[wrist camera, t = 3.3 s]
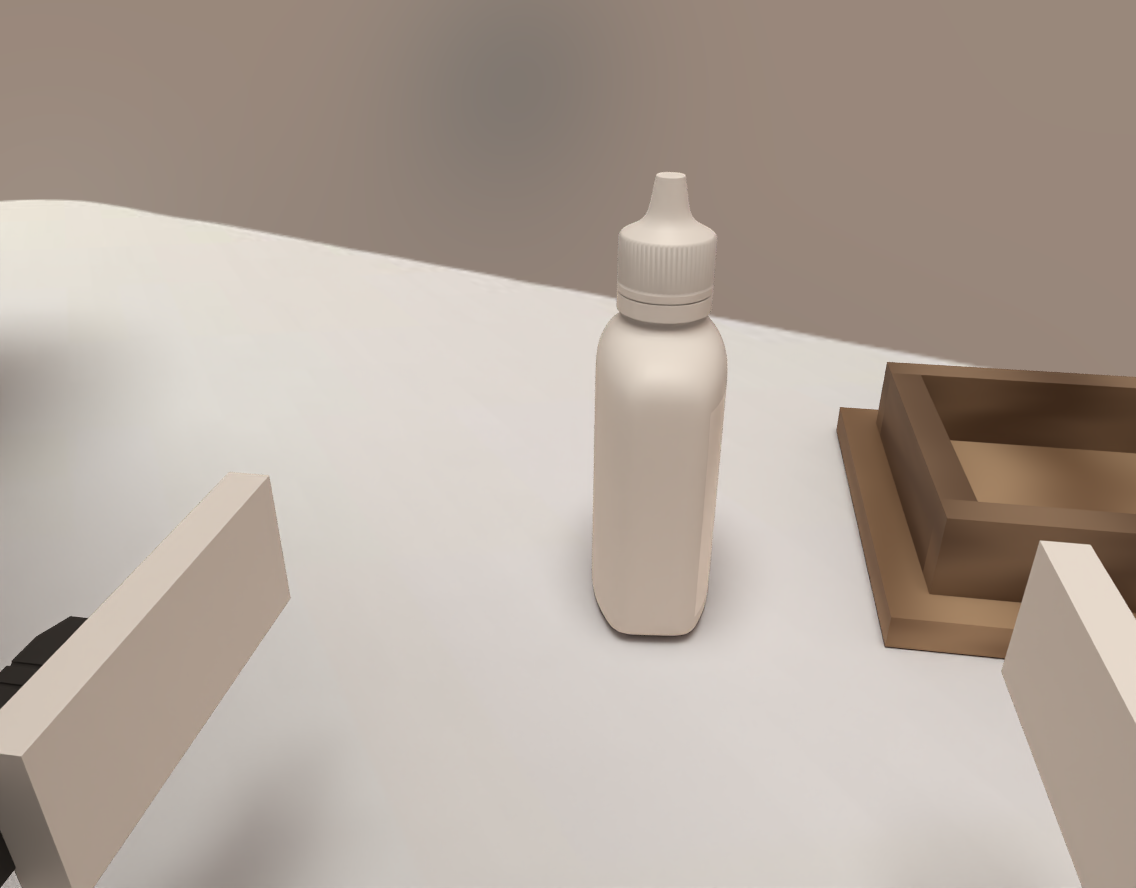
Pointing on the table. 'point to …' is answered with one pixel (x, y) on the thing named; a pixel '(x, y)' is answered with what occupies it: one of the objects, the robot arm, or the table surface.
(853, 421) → the square wooden tray stand
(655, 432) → the eye dropper bottle
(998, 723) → the table surface
